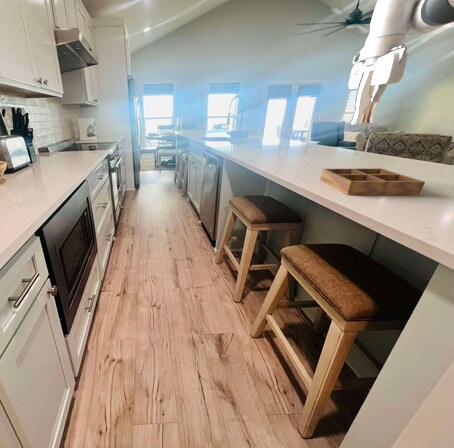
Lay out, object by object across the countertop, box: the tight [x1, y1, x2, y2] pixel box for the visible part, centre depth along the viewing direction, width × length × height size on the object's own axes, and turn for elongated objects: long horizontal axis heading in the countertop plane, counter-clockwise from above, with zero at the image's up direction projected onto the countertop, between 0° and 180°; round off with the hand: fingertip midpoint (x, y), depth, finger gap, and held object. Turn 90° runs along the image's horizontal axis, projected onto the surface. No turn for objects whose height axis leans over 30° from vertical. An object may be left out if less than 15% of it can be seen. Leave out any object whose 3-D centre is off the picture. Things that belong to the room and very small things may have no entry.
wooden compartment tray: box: [320, 167, 426, 197], centre depth 82 cm, size 19×19×4 cm
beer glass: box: [348, 70, 385, 125], centre depth 76 cm, size 7×7×15 cm
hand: (366, 103), depth 77 cm, fingers closed on beer glass, 6 cm apart
